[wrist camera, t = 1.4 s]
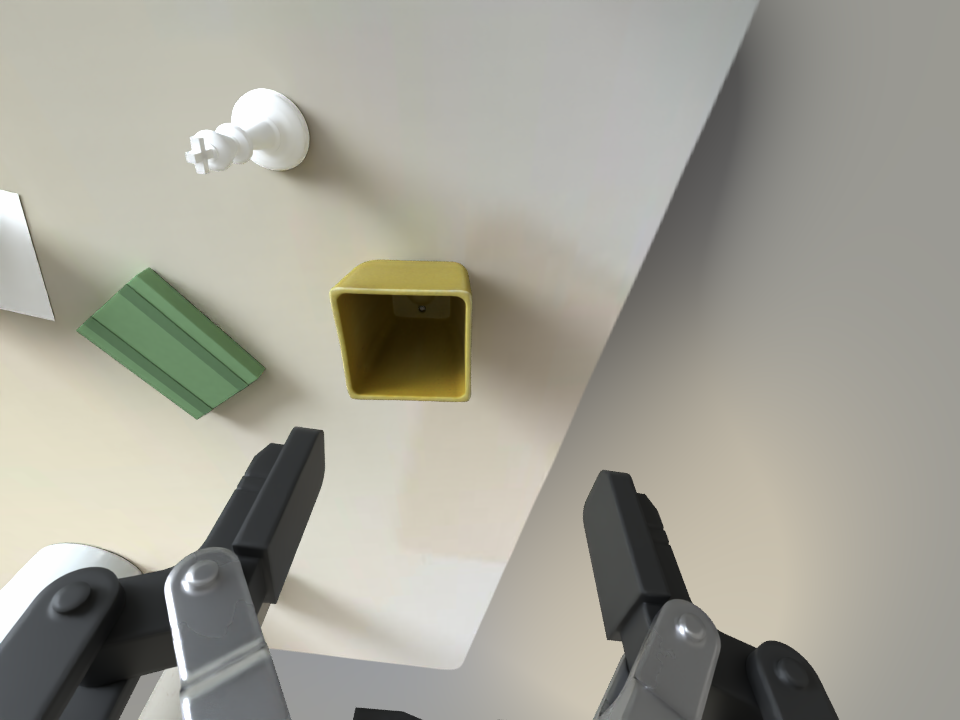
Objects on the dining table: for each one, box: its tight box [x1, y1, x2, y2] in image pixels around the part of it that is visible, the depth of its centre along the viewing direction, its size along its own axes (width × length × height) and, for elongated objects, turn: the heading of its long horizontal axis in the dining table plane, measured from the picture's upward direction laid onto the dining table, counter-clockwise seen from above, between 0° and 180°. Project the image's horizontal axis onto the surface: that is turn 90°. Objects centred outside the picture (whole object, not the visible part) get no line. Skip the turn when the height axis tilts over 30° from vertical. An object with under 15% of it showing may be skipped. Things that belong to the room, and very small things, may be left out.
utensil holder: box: [0, 543, 142, 643], centre depth 54 cm, size 15×15×18 cm
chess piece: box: [185, 89, 309, 174], centre depth 26 cm, size 5×5×10 cm
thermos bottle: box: [138, 603, 271, 720], centre depth 49 cm, size 8×8×28 cm
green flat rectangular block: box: [76, 268, 265, 419], centre depth 39 cm, size 12×9×2 cm
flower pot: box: [329, 260, 472, 402], centre depth 33 cm, size 9×9×9 cm
